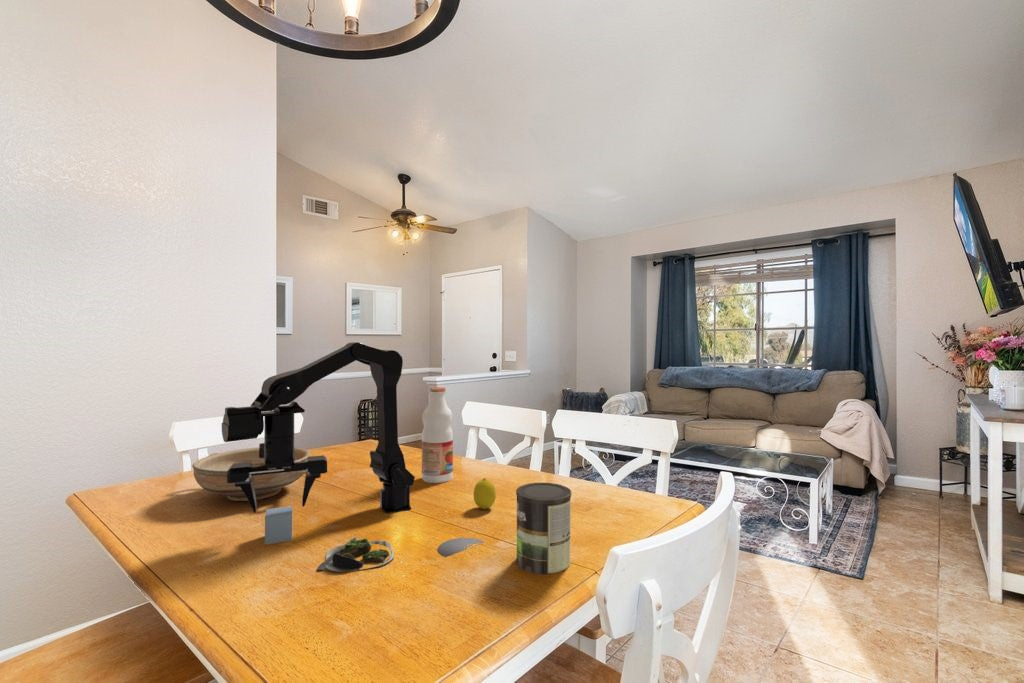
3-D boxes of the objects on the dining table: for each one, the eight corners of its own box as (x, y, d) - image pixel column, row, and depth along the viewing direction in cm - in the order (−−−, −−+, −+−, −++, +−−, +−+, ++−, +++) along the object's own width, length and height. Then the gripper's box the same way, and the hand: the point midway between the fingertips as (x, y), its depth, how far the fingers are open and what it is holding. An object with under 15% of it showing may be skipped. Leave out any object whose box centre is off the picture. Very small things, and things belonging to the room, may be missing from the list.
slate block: (292, 533, 104) (292, 506, 104) (291, 542, 99) (291, 513, 99) (266, 537, 102) (266, 509, 102) (264, 546, 97) (264, 517, 97)
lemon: (492, 515, 115) (492, 482, 115) (470, 513, 116) (470, 480, 116) (498, 507, 120) (498, 475, 120) (477, 505, 121) (477, 474, 121)
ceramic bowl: (158, 499, 127) (158, 461, 127) (257, 472, 152) (257, 441, 152) (249, 521, 111) (249, 478, 111) (342, 488, 136) (342, 453, 136)
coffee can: (518, 580, 83) (518, 500, 83) (513, 554, 93) (513, 482, 93) (576, 578, 84) (576, 498, 84) (565, 552, 94) (565, 481, 94)
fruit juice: (420, 476, 148) (420, 386, 148) (450, 474, 151) (450, 385, 151) (422, 485, 139) (422, 389, 139) (454, 482, 142) (454, 388, 142)
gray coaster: (478, 537, 102) (478, 534, 102) (495, 556, 92) (495, 553, 92) (432, 545, 98) (432, 542, 98) (445, 566, 88) (445, 563, 88)
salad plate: (323, 547, 98) (323, 530, 98) (391, 540, 101) (391, 523, 101) (316, 582, 83) (316, 562, 83) (395, 571, 87) (395, 552, 87)
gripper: (325, 426, 112) (325, 492, 112) (234, 432, 105) (234, 503, 105) (327, 434, 102) (327, 507, 102) (226, 442, 94) (226, 520, 94)
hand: (279, 509), depth 101 cm, fingers open, 9 cm apart
